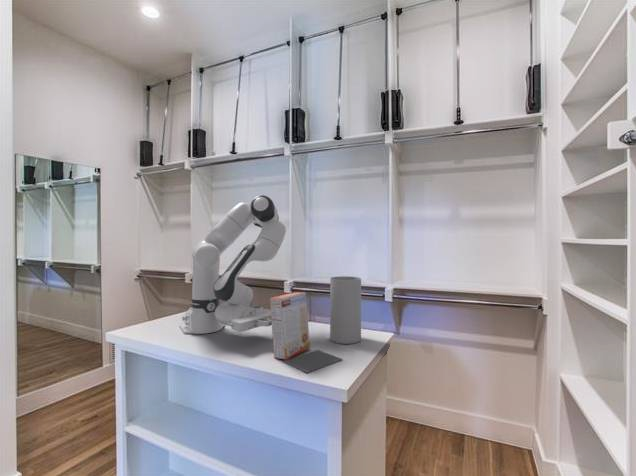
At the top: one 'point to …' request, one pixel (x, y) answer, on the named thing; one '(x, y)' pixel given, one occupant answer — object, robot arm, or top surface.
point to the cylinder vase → (345, 309)
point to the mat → (312, 361)
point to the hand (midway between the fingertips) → (270, 323)
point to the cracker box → (289, 324)
